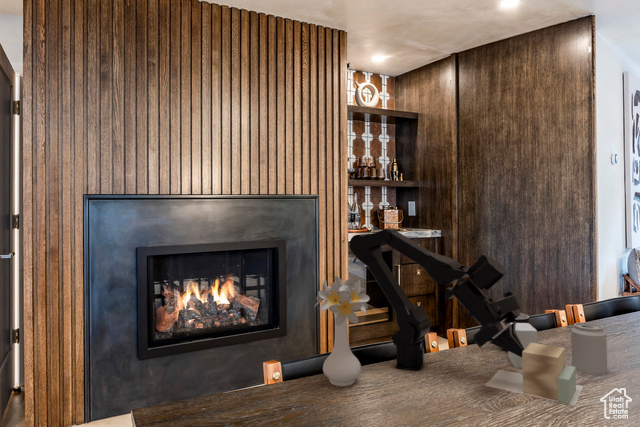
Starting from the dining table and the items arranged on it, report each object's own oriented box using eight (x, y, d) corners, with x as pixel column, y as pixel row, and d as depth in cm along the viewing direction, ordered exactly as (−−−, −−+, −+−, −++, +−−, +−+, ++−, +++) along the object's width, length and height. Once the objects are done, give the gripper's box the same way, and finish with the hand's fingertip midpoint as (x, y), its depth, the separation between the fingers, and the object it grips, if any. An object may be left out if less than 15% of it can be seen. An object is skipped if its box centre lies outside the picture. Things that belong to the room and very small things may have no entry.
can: (602, 369, 111) (601, 321, 111) (611, 380, 104) (610, 329, 104) (569, 366, 114) (568, 320, 114) (575, 377, 107) (574, 327, 106)
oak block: (522, 393, 96) (522, 351, 96) (531, 381, 102) (530, 342, 102) (558, 400, 91) (558, 357, 91) (565, 388, 98) (564, 347, 98)
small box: (538, 372, 110) (538, 330, 110) (514, 371, 111) (514, 330, 111) (530, 361, 118) (529, 322, 117) (508, 360, 119) (507, 322, 119)
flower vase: (329, 402, 96) (327, 287, 95) (309, 372, 113) (307, 275, 113) (385, 394, 99) (382, 283, 99) (356, 366, 117) (354, 272, 117)
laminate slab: (484, 389, 100) (484, 385, 100) (499, 373, 110) (499, 369, 110) (575, 410, 89) (575, 405, 89) (583, 390, 99) (583, 386, 99)
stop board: (558, 401, 91) (558, 377, 91) (565, 387, 98) (565, 365, 98) (569, 404, 90) (569, 380, 90) (576, 389, 97) (575, 366, 97)
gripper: (487, 286, 95) (544, 346, 88) (510, 275, 109) (561, 326, 103) (452, 318, 100) (504, 377, 93) (479, 303, 114) (525, 353, 108)
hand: (525, 356), depth 99 cm, fingers closed, pressing on oak block
